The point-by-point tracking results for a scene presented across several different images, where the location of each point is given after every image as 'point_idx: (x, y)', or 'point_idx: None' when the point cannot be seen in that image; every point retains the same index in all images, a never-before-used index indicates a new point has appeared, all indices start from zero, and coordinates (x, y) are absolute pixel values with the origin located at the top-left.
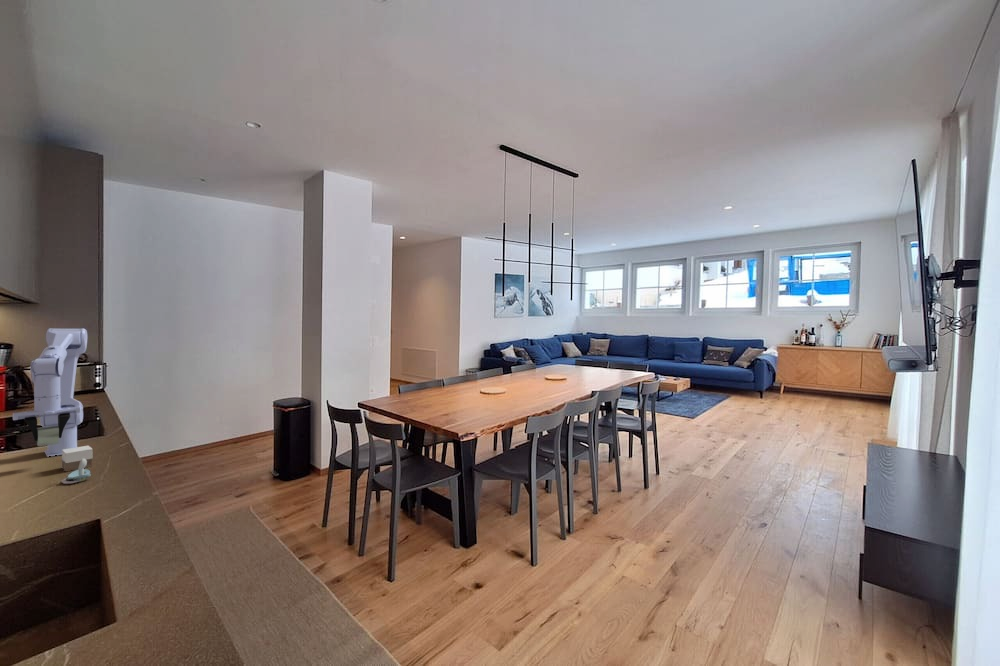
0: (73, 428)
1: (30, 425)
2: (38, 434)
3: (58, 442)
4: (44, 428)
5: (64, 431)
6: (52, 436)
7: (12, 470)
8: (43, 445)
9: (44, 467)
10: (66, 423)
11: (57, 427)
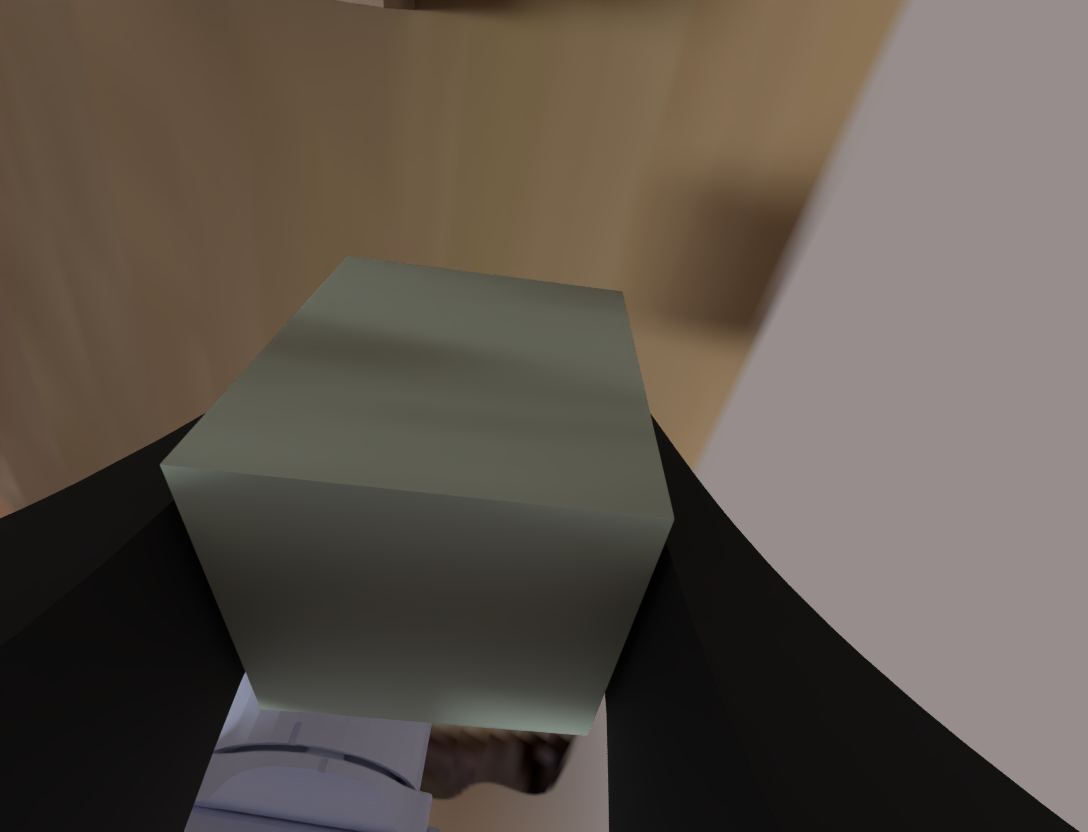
0: (219, 736)
1: (936, 764)
2: (646, 431)
3: (346, 265)
4: (491, 631)
5: (297, 713)
6: (397, 340)
7: (727, 345)
8: (554, 287)
9: (542, 218)
10: (246, 822)
11: (217, 547)
